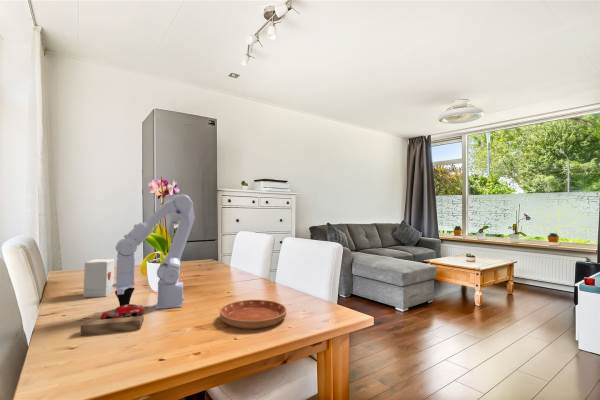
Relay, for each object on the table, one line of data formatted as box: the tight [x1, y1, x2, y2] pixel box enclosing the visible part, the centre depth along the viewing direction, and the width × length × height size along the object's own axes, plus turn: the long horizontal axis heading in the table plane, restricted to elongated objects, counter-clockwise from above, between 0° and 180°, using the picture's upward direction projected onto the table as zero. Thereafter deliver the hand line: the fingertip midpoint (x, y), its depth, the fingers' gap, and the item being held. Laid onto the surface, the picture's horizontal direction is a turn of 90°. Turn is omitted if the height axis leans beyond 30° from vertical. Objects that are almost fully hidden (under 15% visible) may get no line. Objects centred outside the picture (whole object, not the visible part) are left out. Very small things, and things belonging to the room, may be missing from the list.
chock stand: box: [79, 315, 145, 337], centre depth 99 cm, size 16×8×3 cm, turn 108°
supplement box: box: [82, 258, 115, 298], centre depth 136 cm, size 9×9×15 cm
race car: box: [99, 303, 145, 320], centre depth 109 cm, size 13×5×4 cm, turn 119°
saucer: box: [219, 299, 287, 330], centre depth 108 cm, size 23×23×4 cm
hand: (124, 309), depth 112 cm, fingers closed
